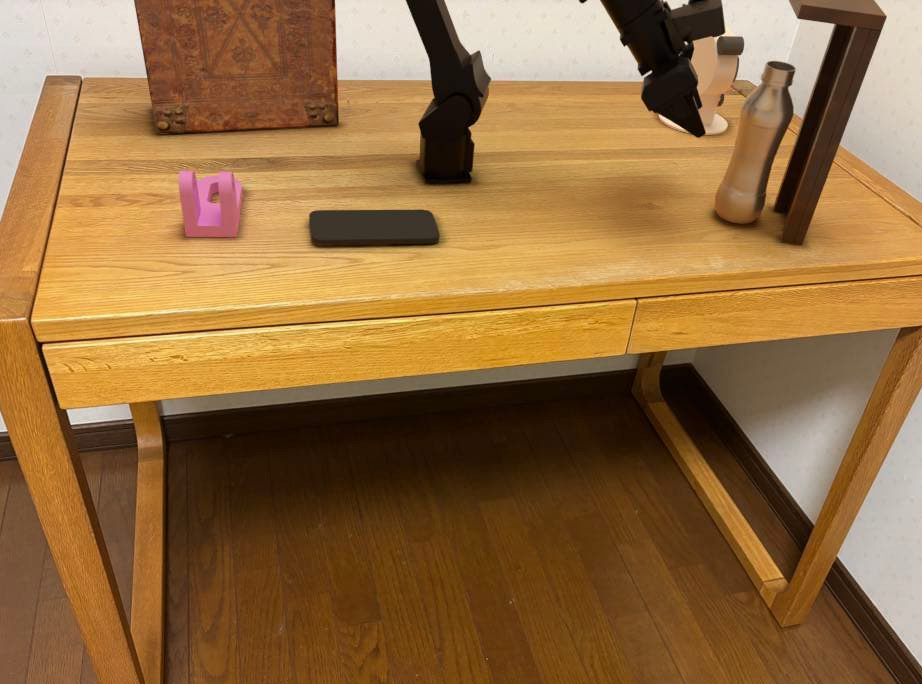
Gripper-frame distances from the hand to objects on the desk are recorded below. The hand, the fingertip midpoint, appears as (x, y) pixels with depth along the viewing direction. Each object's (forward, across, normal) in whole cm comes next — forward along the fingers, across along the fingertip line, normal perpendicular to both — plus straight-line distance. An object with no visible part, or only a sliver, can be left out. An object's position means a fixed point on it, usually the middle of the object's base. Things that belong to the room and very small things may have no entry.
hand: (700, 121), depth 106 cm
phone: (-16, -19, +36) cm, 43 cm away
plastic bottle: (+14, 0, +2) cm, 14 cm away
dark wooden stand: (+17, 0, 0) cm, 17 cm away
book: (-33, +8, +55) cm, 65 cm away
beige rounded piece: (+11, +33, +6) cm, 36 cm away
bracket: (-28, -20, +50) cm, 61 cm away
